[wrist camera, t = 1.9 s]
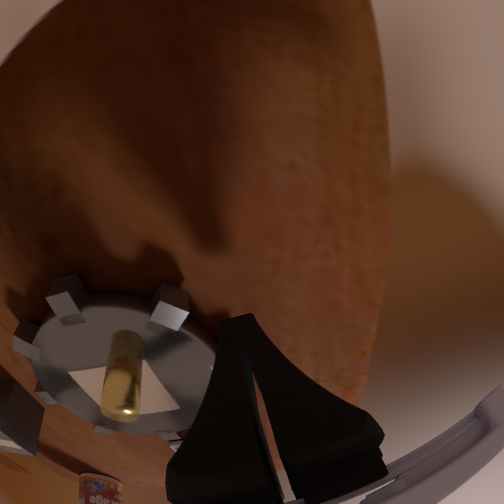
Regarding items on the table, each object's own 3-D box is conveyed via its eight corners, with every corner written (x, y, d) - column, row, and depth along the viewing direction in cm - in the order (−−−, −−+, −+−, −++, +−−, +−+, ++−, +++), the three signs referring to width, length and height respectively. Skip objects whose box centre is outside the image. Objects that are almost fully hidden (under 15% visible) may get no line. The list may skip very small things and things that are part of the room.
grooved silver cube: (45, 408, 17) (35, 457, 12) (18, 408, 17) (7, 452, 12) (16, 379, 15) (-1, 431, 10) (-10, 380, 15) (-26, 426, 10)
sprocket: (261, 405, 20) (279, 467, 15) (97, 430, 18) (93, 485, 14) (206, 235, 12) (221, 322, 8) (-16, 303, 11) (-55, 369, 6)
